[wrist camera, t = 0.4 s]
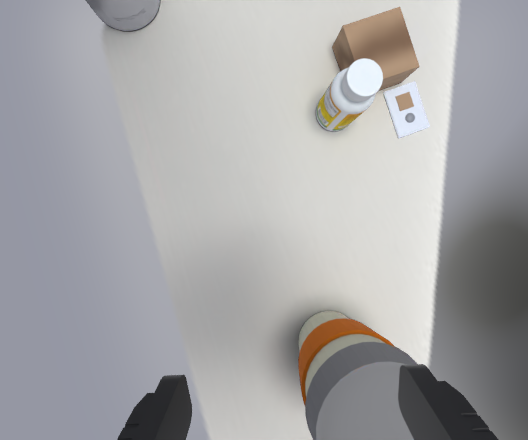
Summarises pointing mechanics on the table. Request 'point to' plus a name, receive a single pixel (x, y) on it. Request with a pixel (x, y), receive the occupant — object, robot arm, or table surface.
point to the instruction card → (406, 109)
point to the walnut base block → (378, 46)
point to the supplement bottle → (349, 94)
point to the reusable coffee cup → (350, 380)
